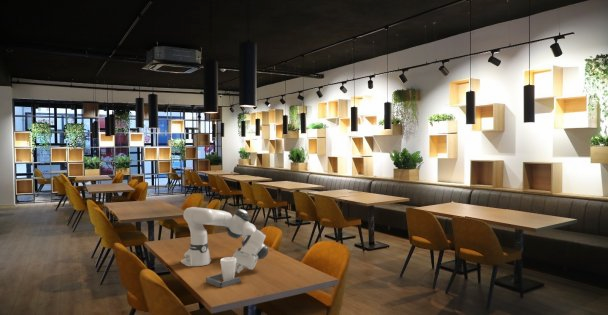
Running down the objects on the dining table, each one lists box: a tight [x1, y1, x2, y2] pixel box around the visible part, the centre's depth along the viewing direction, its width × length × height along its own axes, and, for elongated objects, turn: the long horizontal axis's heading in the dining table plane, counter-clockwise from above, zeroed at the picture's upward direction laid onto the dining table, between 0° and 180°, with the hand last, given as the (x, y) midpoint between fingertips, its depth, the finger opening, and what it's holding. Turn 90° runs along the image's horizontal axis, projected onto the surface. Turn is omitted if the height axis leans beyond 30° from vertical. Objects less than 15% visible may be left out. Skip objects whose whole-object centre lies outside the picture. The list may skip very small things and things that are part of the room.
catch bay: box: [205, 272, 241, 289], centre depth 247 cm, size 15×14×3 cm
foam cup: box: [220, 256, 236, 282], centre depth 250 cm, size 10×9×13 cm
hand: (236, 272), depth 253 cm, fingers closed, pressing on foam cup
